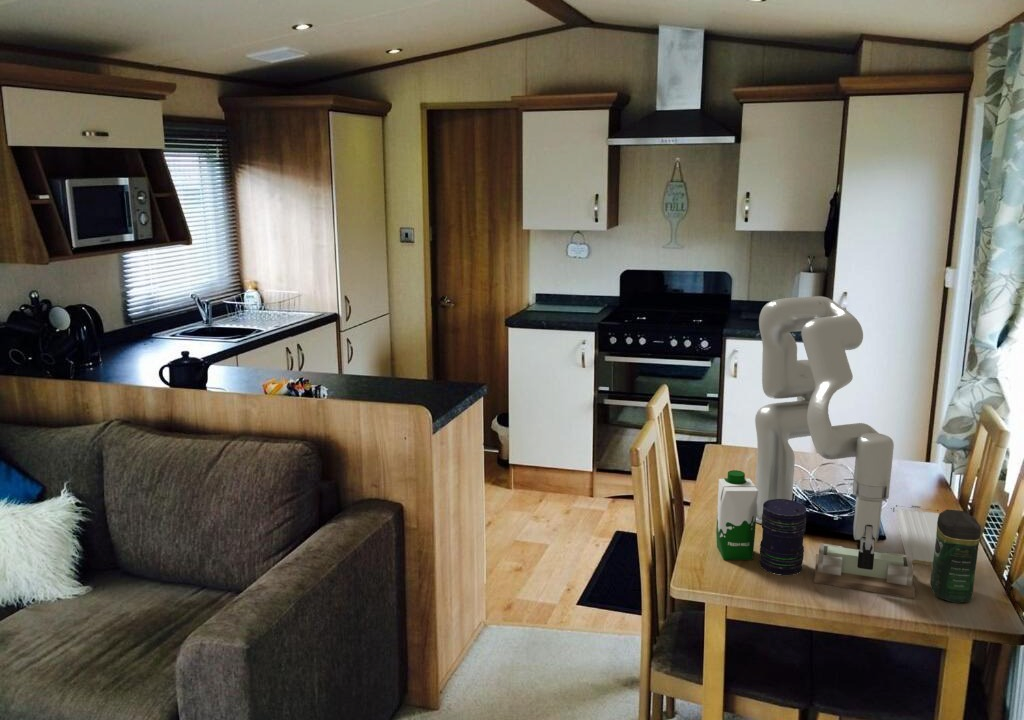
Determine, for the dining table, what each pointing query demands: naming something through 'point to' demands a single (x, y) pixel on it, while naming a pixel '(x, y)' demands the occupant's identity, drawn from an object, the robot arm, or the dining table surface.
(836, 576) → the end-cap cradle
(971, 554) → the coffee jar
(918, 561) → the baseboard molding
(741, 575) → the dining table surface
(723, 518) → the milk carton
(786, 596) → the dining table surface
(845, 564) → the pale green long block
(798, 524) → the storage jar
